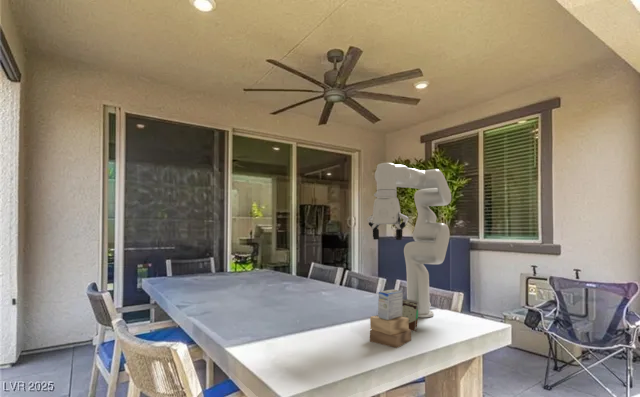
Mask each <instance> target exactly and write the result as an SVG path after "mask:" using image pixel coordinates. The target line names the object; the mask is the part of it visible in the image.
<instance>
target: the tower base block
mask: <svg viewBox="0 0 640 397" xmlns="http://www.w3.org/2000/svg"><path fill="white" fill-rule="evenodd" d="M411 341H412V331H411V329H409V330H408V331H405V332H401V333H397V334H393V335H388V334H385V333H382V332H379V331H375V330H372V329H370V330H369V342H371V343H375V344H378V345H382V346H387V347H392V348H396V349H397V348H399V347H401V346H404V345H405V344H407V343H410V342H411Z"/></svg>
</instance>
